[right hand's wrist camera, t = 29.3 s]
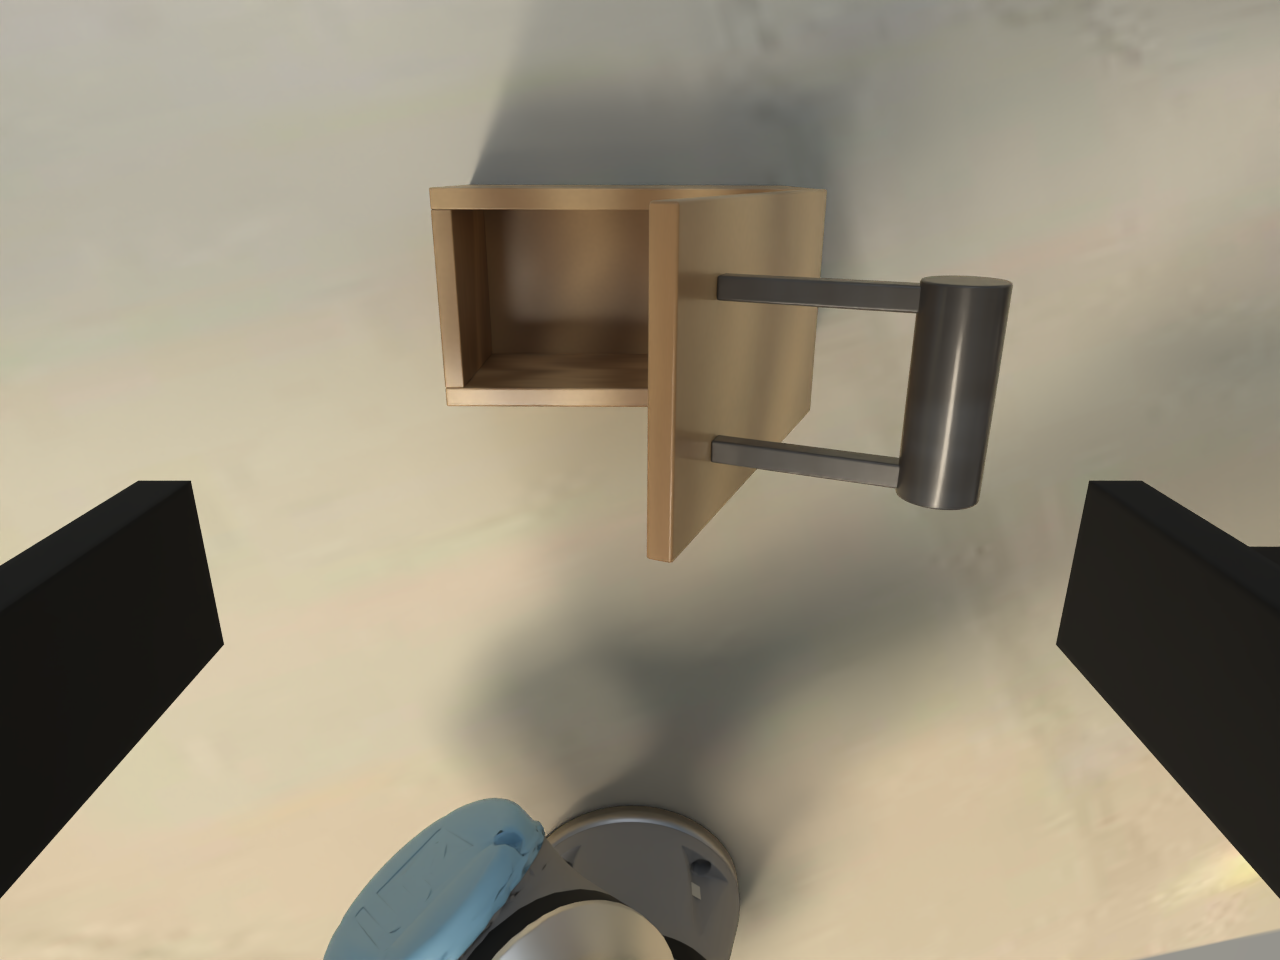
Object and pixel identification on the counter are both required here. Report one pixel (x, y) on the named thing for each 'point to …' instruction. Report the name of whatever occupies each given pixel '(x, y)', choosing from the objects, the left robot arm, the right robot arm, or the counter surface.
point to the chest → (548, 290)
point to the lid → (795, 362)
